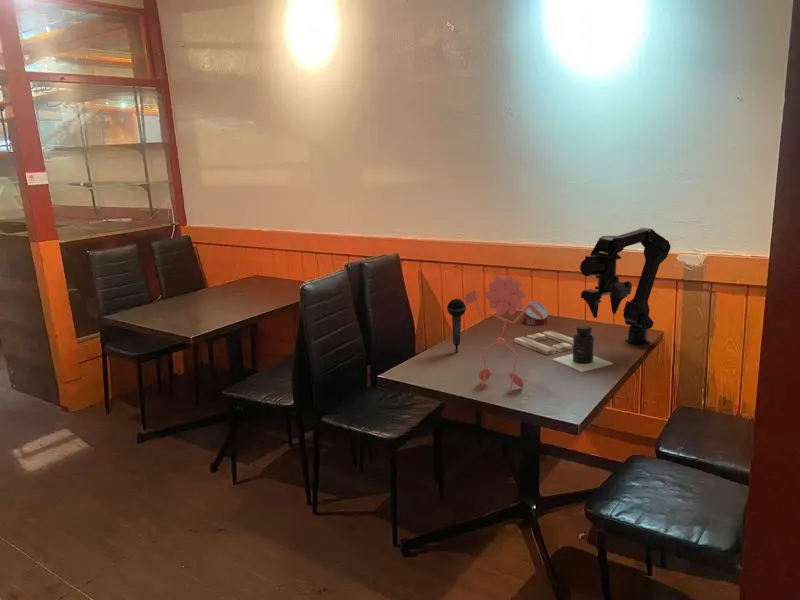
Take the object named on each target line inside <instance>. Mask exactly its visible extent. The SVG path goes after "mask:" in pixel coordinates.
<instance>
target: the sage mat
mask: <svg viewBox="0 0 800 600" xmlns="http://www.w3.org/2000/svg"><path fill="white" fill-rule="evenodd" d="M552 361H554V362H556V363H558V364H561V365H563V366H565V367H567V368H569V369H572V368H573V369H572V370H575V371H577V372H580V373H586V372H588V371H593V370H597V369H600V368H604V367H608V366H612V365H613V362H611V361H609V360H606V359H604V358H600V357H598V356H595V355H593V361H592V362H591V363H588V364H581V363H577V362H574V361H573V353H571V354H567V355H566V354H565V355H562V356H558V357H555V358H552Z"/></svg>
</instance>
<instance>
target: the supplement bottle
mask: <svg viewBox="0 0 800 600" xmlns="http://www.w3.org/2000/svg"><path fill="white" fill-rule="evenodd" d="M592 330H593V329H592V327H591V326H590V325H582V324H581V325H578V326H577V327H576V333H575V334H574V335H573V347H572V354H573V361H574V362H577V363H581V364H588V363H591V362H592V361H593V356H594V349H595V336H594V335H593V334H592Z"/></svg>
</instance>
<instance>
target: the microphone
mask: <svg viewBox="0 0 800 600" xmlns="http://www.w3.org/2000/svg"><path fill="white" fill-rule="evenodd" d="M466 306H467V305H466V303H465V302H464V301H463V300H462V299H459V298H453V299H451V300H449V302H448V304H447V306H446V310H447V313H448V314H449V315H450V316H451V322H452V323H451V326H452V344H453V345H454V346H455V349H454V352H455V353H459V348H458V346H459V345H460V344H461V329H462V328H461V327H462V316H463V315H464V314H465V312H466V310H467V307H466Z"/></svg>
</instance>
